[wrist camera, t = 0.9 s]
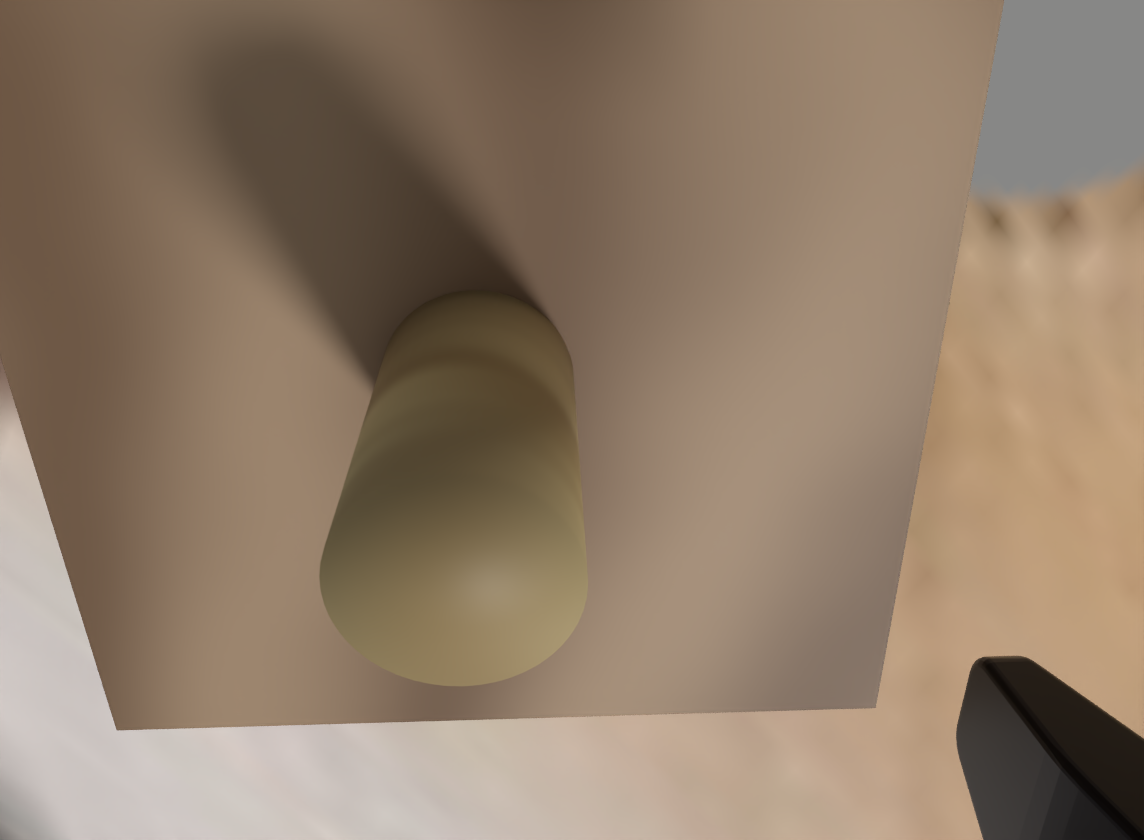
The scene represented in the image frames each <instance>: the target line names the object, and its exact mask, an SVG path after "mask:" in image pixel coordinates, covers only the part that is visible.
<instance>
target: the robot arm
mask: <svg viewBox="0 0 1144 840" xmlns="http://www.w3.org/2000/svg"><path fill="white" fill-rule="evenodd" d="M956 740H957V749H958V754H959V758H960V762H961V765H962V769H963V772H964V776H965V779H966V782H967V786H968V789H969V793H970V796H971V799H972V803H973V806H974V810H975V813H976V816H977V820H978V823H979V827H980V830H981V833H982V837H983V840H1144V739H1143V738H1142V737H1141V736H1139V735H1138V734H1136V733H1135V732H1134V731H1132V730H1131V729H1129V728H1128V727H1126V726H1125V725H1124V724H1122V723H1121V722H1119V721H1118V720H1117V719H1115V718H1114V717H1112V716H1111V715H1109V714H1108V713H1107V712H1105V711H1104V710H1102V709H1101V708H1099V707H1098V706H1097V705H1095V704H1094V703H1092V702H1091V701H1090V700H1088V699H1087V698H1085V697H1084V696H1082V695H1081V694H1080V693H1078V692H1077V691H1075V690H1074V689H1073V688H1071V687H1070V686H1068V685H1067V684H1065V683H1064V682H1063V681H1061V680H1060V679H1058V678H1057V677H1056V676H1054V675H1053V674H1051V673H1050V672H1048V671H1047V670H1046V669H1044V668H1043V667H1041V666H1040V665H1038V664H1037V663H1036V662H1034V661H1032V660H1031V659H1029V658H1026V657H1022V656H994V657H982V658H980V659H978V660H976V661H975V663H974V664H973V665H972V668H971V671H970V674H969V678H968V682H967V686H966V691H965V695H964V699H963V703H962V707H961V711H960V716H959V720H958V724H957V732H956Z"/></svg>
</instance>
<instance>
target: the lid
mask: <svg viewBox="0 0 1144 840" xmlns="http://www.w3.org/2000/svg"><path fill="white" fill-rule="evenodd" d="M1003 4H1004V0H0V357H1V360H2V363H3V367H4V370H5V373H6V376H7V379H8V383H9V386H10V389H11V392H12V395H13V399H14V402H15V405H16V408H17V412H18V415H19V418H20V421H21V424H22V428H23V431H24V434H25V437H26V440H27V444H28V447H29V450H30V453H31V456H32V460H33V463H34V466H35V469H36V473H37V476H38V479H39V482H40V485H41V489H42V492H43V495H44V498H45V501H46V505H47V508H48V511H49V514H50V517H51V521H52V524H53V527H54V530H55V534H56V537H57V540H58V543H59V546H60V550H61V553H62V556H63V559H64V562H65V566H66V569H67V572H68V575H69V578H70V582H71V585H72V588H73V591H74V595H75V598H76V601H77V604H78V607H79V611H80V614H81V617H82V620H83V623H84V627H85V630H86V633H87V636H88V639H89V643H90V646H91V649H92V652H93V656H94V659H95V662H96V665H97V668H98V672H99V675H100V678H101V681H102V684H103V688H104V691H105V694H106V697H107V700H108V704H109V707H110V710H111V713H112V717H113V720H114V723H115V726H116V729H117V730H143V729H177V728H211V727H245V726H279V725H313V724H347V723H381V722H415V721H449V720H483V719H517V718H551V717H585V716H619V715H653V714H687V713H721V712H755V711H789V710H823V709H857V708H876V703H877V697H878V692H879V686H880V681H881V675H882V670H883V664H884V659H885V653H886V648H887V642H888V637H889V631H890V626H891V620H892V615H893V609H894V604H895V598H896V593H897V587H898V582H899V576H900V571H901V565H902V560H903V554H904V549H905V543H906V538H907V532H908V527H909V521H910V516H911V510H912V505H913V499H914V494H915V488H916V483H917V477H918V472H919V466H920V461H921V455H922V450H923V444H924V439H925V433H926V428H927V422H928V416H929V411H930V405H931V400H932V394H933V389H934V383H935V378H936V372H937V367H938V361H939V356H940V350H941V345H942V339H943V334H944V328H945V323H946V317H947V312H948V306H949V301H950V295H951V290H952V284H953V279H954V273H955V268H956V262H957V257H958V251H959V246H960V240H961V235H962V229H963V224H964V218H965V213H966V207H967V202H968V196H969V191H970V185H971V180H972V174H973V169H974V163H975V158H976V152H977V147H978V141H979V136H980V130H981V125H982V119H983V114H984V108H985V102H986V97H987V92H988V86H989V81H990V75H991V70H992V64H993V58H994V53H995V47H996V42H997V37H998V31H999V26H1000V20H1001V15H1002V9H1003Z"/></svg>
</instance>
